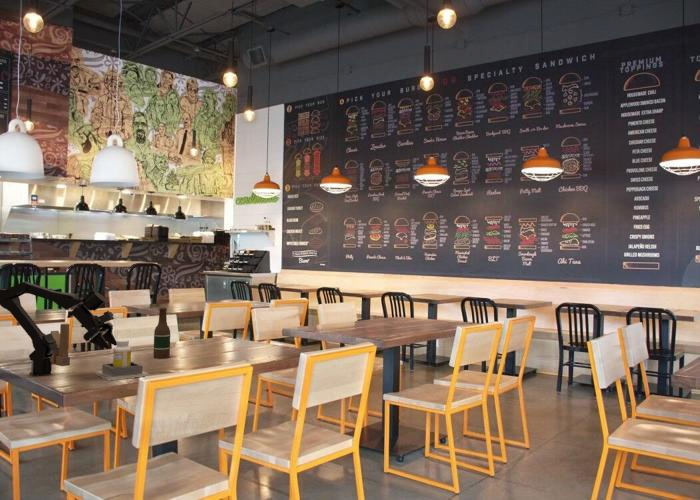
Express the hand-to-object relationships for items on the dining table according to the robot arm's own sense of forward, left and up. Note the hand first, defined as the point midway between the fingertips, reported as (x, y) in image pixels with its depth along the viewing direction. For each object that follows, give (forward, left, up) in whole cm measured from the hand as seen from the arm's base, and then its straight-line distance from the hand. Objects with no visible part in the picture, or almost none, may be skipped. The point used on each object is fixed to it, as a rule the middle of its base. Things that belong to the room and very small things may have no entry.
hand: (112, 346), depth 241 cm
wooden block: (-11, +37, -12) cm, 40 cm away
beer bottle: (+33, +31, -12) cm, 47 cm away
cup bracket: (+3, -2, -12) cm, 12 cm away
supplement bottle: (+3, -2, -10) cm, 11 cm away
